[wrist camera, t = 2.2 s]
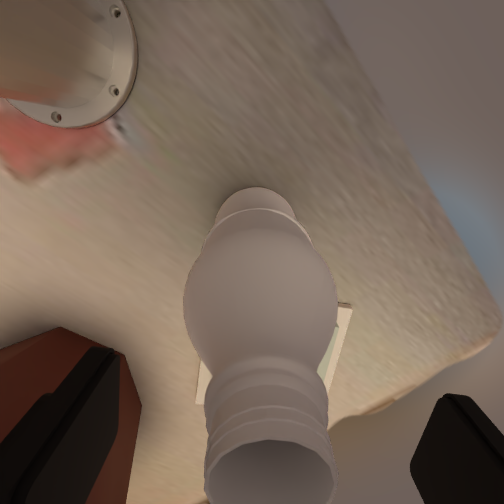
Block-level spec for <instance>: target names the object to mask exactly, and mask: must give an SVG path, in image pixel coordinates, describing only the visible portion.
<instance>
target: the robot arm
mask: <svg viewBox="0 0 504 504" xmlns="http://www.w3.org/2000/svg"><path fill="white" fill-rule="evenodd" d="M117 13H121V14H120V16H119V17H118V18H117ZM137 62H138V53H137V40H136V35H135V31H134V26H133V23H132V20H131V18H130V15H129V13H128V10H127V7H126V6H125V4H124V2H123V0H0V97H2V98H5V99H6V100H7V101H8V102H9V103H10V104H11V105H12V106H14V107H15V108H17V109H18V110H19V111H21V112H22V113H23V114H25V115H26V116H28V117H30V118H32V119H34V120H36V121H38V122H41V123H44V124H47V125H50V126H53V127H61V128H84V127H89V126H94V125H96V124H98V123H100V122H103V121H105V120H106V119H108V118H109V117H110V116H112V115H113V114H114V113H116V111H117V110H118V109H119V108H120V107H121V106H122V104H123V103H124V102H125V100H126V99H127V97H128V95H129V93H130V91H131V89H132V86H133V83H134V80H135V76H136V70H137ZM117 89H119V95H116V90H117ZM60 115H61V117H62V119H61V120H60ZM119 388H120V355H117V354H115V351H114V349H112V348H106V347H98V346H91V347H90V348H89V349H88V350H87V352H86V353H85V354H84V355H83V357H82V358H81V359H80V360H79V361H78V363H77V364H76V365H75V366H74V368H73V369H72V370H71V371H70V372H69V374H68V375H67V376H66V377H65V379H64V380H63V381H62V382H61V384H60V385H59V386H58V387H57V388H56V390H55V391H54V392H53V393H45V394H43V395H42V396H41V397H40V398H39V399H38V400H37V401H36V402H35V403H34V404H33V406H32V407H31V408H30V409H29V410H28V411H27V413H26V414H25V415H24V416H23V417H22V418H21V420H20V421H19V422H18V423H17V424H16V425H15V427H14V428H13V429H12V430H11V431H10V432H9V434H8V435H7V436H6V437H5V438H4V439H3V441H2V442H1V443H0V504H85V503H86V501H87V498H88V496H89V494H90V492H91V490H92V488H93V486H94V484H95V482H96V479H97V477H98V475H99V473H100V471H101V469H102V467H103V465H104V462H105V460H106V458H107V456H108V454H109V452H110V450H111V448H112V446H113V443H114V441H115V439H116V436H117V432H118V426H119ZM410 472H411V476H412V478H413V480H414V482H415V485H416V487H417V489H418V490H419V493H420V495H421V497H422V499H423V501H424V503H425V504H504V435H503V434H502V433H501V432H500V431H499V430H498V428H497V427H496V426H495V425H494V424H493V423H492V421H491V420H490V419H489V418H488V417H487V416H486V415H485V413H484V412H483V411H482V410H481V409H480V408H479V406H478V405H477V404H476V403H475V402H474V401H473V400H472V399H471V398H470V397H468V396H465V395H457V394H450V393H449V394H448V393H447V394H445V395H443V397H442V398H440V399H438V401H437V403H436V405H435V407H434V409H433V412H432V414H431V417H430V419H429V421H428V423H427V426H426V428H425V430H424V432H423V435H422V437H421V439H420V441H419V444H418V446H417V449H416V451H415V453H414V455H413V458H412V460H411V463H410Z"/></svg>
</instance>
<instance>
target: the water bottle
mask: <svg viewBox="0 0 504 504" xmlns="http://www.w3.org/2000/svg"><path fill="white" fill-rule="evenodd" d="M183 306H184V320H185V324H186V328H187V331H188V335H189V337H190V339H191V341H192V344H193V346H194V348H195V350H196V351H197V353H198V355H199V357H200V358H201V360H202V361H203V363H204V364H205V366H206V367H207V369H208V370H209V372H210V373H211V375H212V379H211V380H210V382H209V384H208V386H207V389H206V393H205V398H204V411H205V417H206V428H207V431H208V434H209V437H208V442H207V444H208V445H207V451H206V456H205V463H204V478H205V483H204V491H205V493H206V495H207V498H208V500H209V502H210V504H330V503H331V502H332V501H333V498H334V495H335V491H336V488H337V485H338V474H339V473H338V469H337V466H336V463H335V460H334V456H333V449H332V445H331V444H330V437H329V435H328V433H327V426H328V413H327V412H328V395H327V391H326V387H325V385H324V383H323V381H322V379H321V377H320V376H319V375H318V373H317V372H316V371H317V369H318V366H319V364H320V363H321V361H322V359H323V357H324V355H325V353H326V351H327V349H328V346H329V344H330V341H331V339H332V337H333V333H334V330H335V326H336V321H337V313H338V299H337V292H336V286H335V283H334V280H333V277H332V274H331V272H330V270H329V268H328V266H327V263H326V262H325V261H324V259H323V258H322V257H321V255H320V254H319V253H318V252H317V251H316V250H315V249H314V247H313V244H312V241H311V239H310V237H309V235H308V233H307V232H306V230H305V229H304V227H303V226H302V225H301V223H299V222H298V221H297V220H296V218H295V215H294V212H293V210H292V208H291V206H290V205H289V203H288V202H287V201H286V200H285V199H284V198H283V197H282V196H280V195H279V194H278V193H276V192H274V191H272V190H270V189H266V188H262V187H251V188H247V189H242V190H239V191H237V192H235V193H234V194H233V195H231V196H230V197H229V198H228V199H227V200H226V201H225V202H224V203H223V205H222V206H221V208H220V209H219V211H218V213H217V216H216V219H215V225H214V226H213V227H212V228H211V230H210V231H209V233H208V235H207V237H206V239H205V241H204V244H203V246H202V251H201V255H200V256H199V258H198V259H197V260H196V261H195V263H194V265H193V267H192V269H191V271H190V273H189V275H188V279H187V282H186V286H185V291H184V297H183Z"/></svg>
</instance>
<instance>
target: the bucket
mask: <svg viewBox="0 0 504 504" xmlns="http://www.w3.org/2000/svg"><path fill="white" fill-rule="evenodd" d="M91 346H98V347H106V346H103V345H101V344H99V343H97V342H94V341H92V340H90V339H88V338H85V337H83V336H81V335H79V334H76V333H74V332H72V331H69V330H67V329H65V328H63V327H58V328H56V329H53V330H50V331H48V332H45V333H42V334H40V335H37V336H34V337H32V338H29V339H26V340H24V341H21V342H18V343H16V344H13V345H10V346H8V347H5V348H3V349H1V350H0V443H1V442H2V441H3V439H4V438H5V437H6V436H7V435H8V434H9V432H10V431H11V430H12V429H13V428H14V427H15V425H16V424H17V423H18V422H19V421H20V420H21V418H22V417H23V416H24V415H25V414H26V413H27V411H28V410H29V409H30V408H31V407H32V406H33V404H34V403H35V402H36V401H37V400H38V399H39V398H40V397H41V396H42V395H43V394H45V393H53V392H54V391H55V390H56V388H57V387H58V386H59V385H60V384H61V382H62V381H63V380H64V379H65V377H66V376H67V375H68V374H69V372H70V371H71V370H72V369H73V368H74V366H75V365H76V364H77V363H78V361H79V360H80V359H81V358H82V357H83V355H84V354H85V353H86V352H87V350H88V349H89V348H90V347H91ZM106 348H108V347H106ZM114 351H115V350H114ZM115 354H117V355H120V388H119V426H118V432H117V436H116V439H115V441H114V443H113V446H112V448H111V450H110V452H109V454H108V456H107V458H106V460H105V462H104V465H103V467H102V469H101V471H100V473H99V475H98V477H97V479H96V482H95V484H94V486H93V488H92V490H91V492H90V494H89V496H88V498H87V501H86V503H85V504H126V499H127V493H128V487H129V480H130V474H131V468H132V462H133V456H134V450H135V444H136V438H137V432H138V426H139V420H140V414H141V408H142V405H141V402H140V399H139V396H138V393H137V390H136V387H135V384H134V381H133V378H132V376H131V373H130V370H129V367H128V364H127V361H126V358H125V355H124V354H121V353H119V352H117V351H115Z"/></svg>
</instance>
